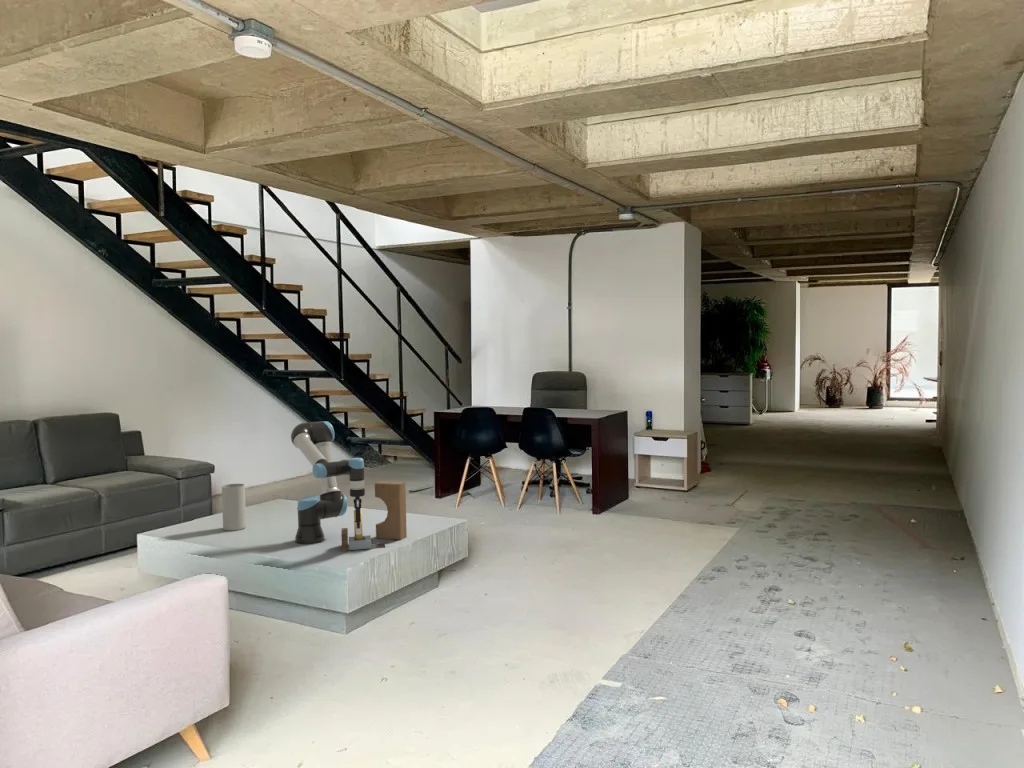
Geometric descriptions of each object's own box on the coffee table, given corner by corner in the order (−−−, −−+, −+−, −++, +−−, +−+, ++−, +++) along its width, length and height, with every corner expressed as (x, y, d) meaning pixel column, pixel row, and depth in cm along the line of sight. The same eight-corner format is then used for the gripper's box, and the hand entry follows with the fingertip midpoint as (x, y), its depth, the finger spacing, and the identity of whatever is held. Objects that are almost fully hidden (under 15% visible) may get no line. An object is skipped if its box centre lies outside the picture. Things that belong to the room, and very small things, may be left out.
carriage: (349, 544, 398) (348, 536, 398) (370, 543, 401) (370, 535, 400) (349, 550, 387) (348, 542, 387) (371, 548, 390) (370, 540, 390)
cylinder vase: (250, 527, 443) (249, 484, 441) (232, 532, 432) (230, 488, 431) (237, 525, 450) (235, 482, 448) (218, 529, 439) (216, 486, 438)
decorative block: (407, 536, 414) (405, 481, 413) (400, 540, 407) (399, 484, 406) (382, 534, 419) (381, 480, 418) (375, 538, 412) (374, 483, 411)
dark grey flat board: (348, 546, 397) (348, 545, 397) (384, 543, 401) (384, 543, 401) (348, 550, 389) (348, 549, 389) (385, 547, 393) (385, 547, 393)
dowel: (354, 540, 395) (353, 509, 394) (362, 539, 396) (361, 509, 395) (354, 542, 391) (353, 511, 391) (362, 541, 392) (361, 511, 391)
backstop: (342, 545, 398) (341, 528, 398) (348, 545, 399) (347, 527, 399) (341, 551, 386) (341, 534, 385) (348, 551, 386) (347, 533, 386)
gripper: (349, 485, 400) (351, 530, 401) (349, 491, 383) (351, 537, 384) (364, 485, 401) (365, 529, 403) (364, 490, 385) (366, 536, 386)
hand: (358, 533), depth 393 cm, fingers closed on dowel, 4 cm apart
